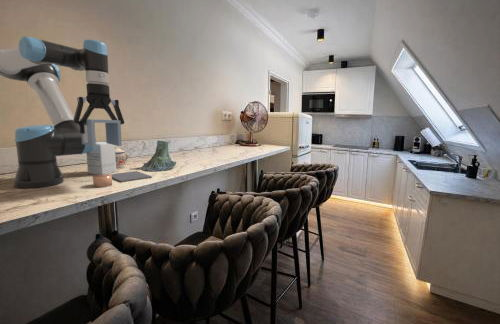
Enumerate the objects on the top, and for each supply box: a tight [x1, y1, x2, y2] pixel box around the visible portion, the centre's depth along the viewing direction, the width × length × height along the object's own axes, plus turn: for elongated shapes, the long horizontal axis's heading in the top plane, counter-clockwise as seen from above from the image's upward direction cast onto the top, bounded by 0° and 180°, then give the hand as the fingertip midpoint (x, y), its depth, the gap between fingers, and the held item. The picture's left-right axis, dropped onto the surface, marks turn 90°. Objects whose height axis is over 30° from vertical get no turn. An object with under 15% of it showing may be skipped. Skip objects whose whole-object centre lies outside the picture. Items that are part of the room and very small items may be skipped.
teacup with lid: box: [115, 145, 129, 169], centre depth 138 cm, size 12×9×12 cm
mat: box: [110, 170, 153, 183], centre depth 116 cm, size 16×14×1 cm
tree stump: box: [140, 140, 177, 173], centre depth 140 cm, size 18×20×18 cm
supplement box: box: [86, 141, 117, 175], centre depth 122 cm, size 9×9×15 cm
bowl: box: [92, 173, 113, 188], centre depth 100 cm, size 7×7×4 cm
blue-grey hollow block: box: [79, 118, 123, 147], centre depth 98 cm, size 14×10×10 cm
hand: (101, 141), depth 98 cm, fingers closed on blue-grey hollow block, 10 cm apart
